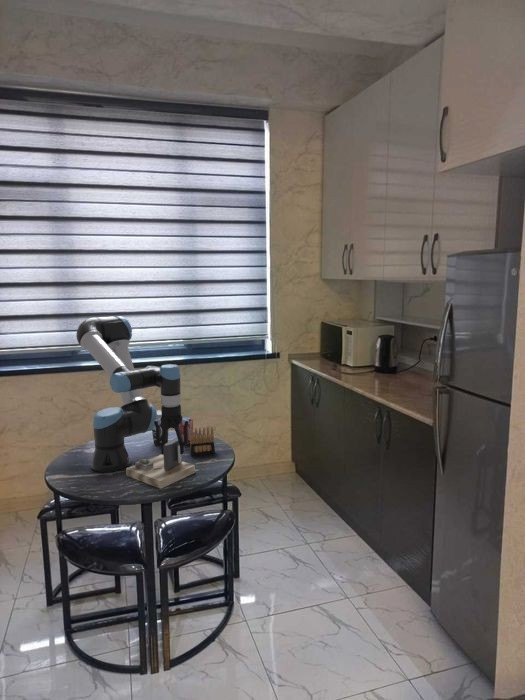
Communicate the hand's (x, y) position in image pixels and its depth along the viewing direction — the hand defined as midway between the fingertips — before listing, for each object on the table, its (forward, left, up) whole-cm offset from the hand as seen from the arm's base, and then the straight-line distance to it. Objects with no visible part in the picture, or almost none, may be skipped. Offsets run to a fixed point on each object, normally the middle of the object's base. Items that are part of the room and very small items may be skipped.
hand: (173, 461), depth 188 cm
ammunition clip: (-6, +23, -5) cm, 24 cm away
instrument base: (-4, -3, -5) cm, 7 cm away
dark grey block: (0, 0, -2) cm, 2 cm away
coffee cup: (-31, +21, -5) cm, 38 cm away
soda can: (-22, +29, -5) cm, 37 cm away
